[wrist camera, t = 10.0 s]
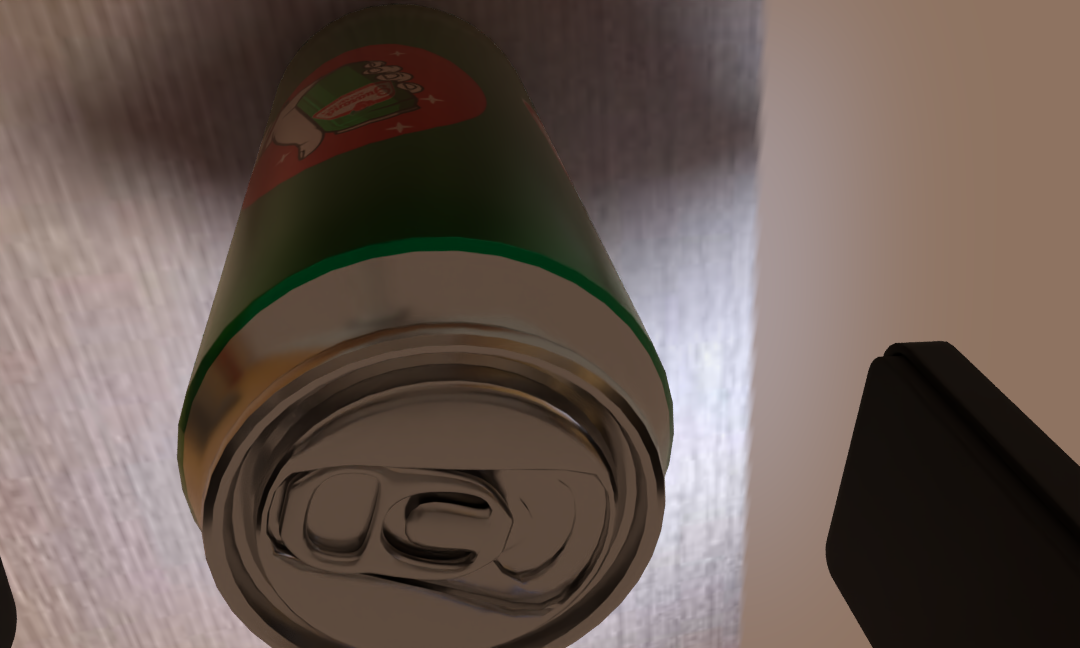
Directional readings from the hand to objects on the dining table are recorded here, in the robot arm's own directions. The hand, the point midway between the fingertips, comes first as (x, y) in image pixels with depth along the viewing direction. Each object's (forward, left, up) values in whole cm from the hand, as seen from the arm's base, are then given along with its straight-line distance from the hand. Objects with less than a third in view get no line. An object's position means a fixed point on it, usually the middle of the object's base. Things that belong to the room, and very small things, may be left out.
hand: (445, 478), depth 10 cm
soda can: (0, 0, -11) cm, 11 cm away
